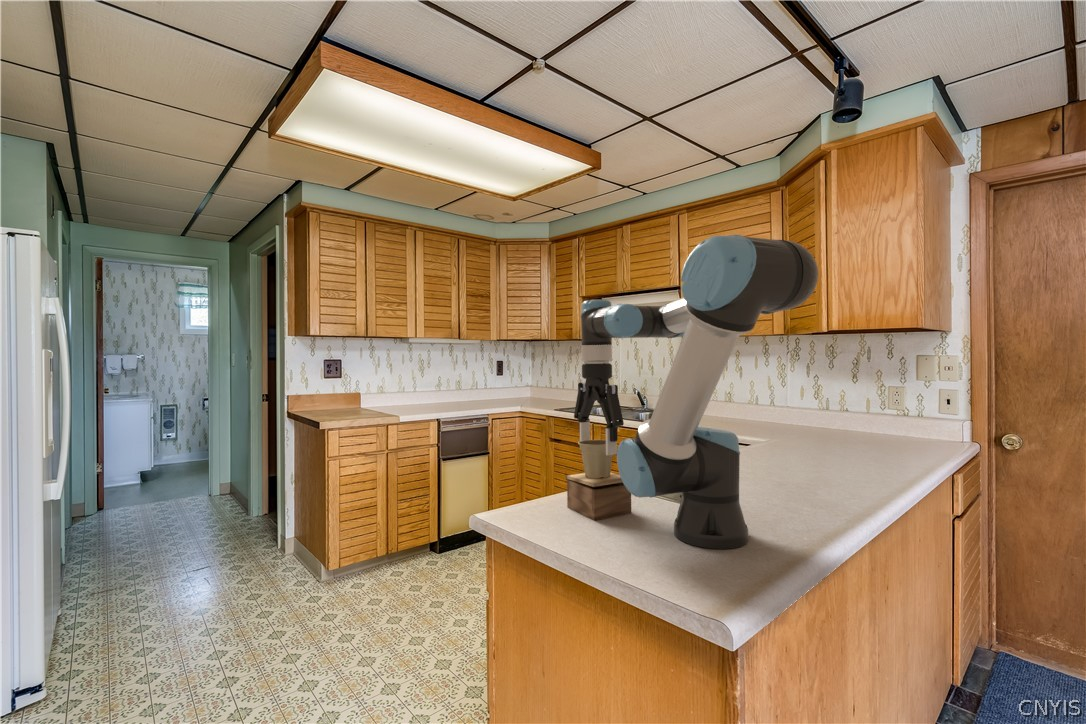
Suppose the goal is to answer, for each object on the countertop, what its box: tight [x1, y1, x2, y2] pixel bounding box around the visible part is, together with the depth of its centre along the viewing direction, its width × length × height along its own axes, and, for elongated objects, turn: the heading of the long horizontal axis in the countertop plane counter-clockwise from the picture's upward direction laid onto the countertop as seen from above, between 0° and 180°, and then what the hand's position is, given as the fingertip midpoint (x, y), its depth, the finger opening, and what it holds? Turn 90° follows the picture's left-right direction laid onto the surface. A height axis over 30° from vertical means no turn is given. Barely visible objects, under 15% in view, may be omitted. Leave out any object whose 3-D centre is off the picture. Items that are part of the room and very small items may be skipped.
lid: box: [565, 472, 623, 487], centre depth 129 cm, size 13×11×1 cm
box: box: [566, 480, 632, 522], centre depth 129 cm, size 12×11×7 cm
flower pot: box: [577, 439, 613, 479], centre depth 129 cm, size 9×9×9 cm
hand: (597, 450), depth 129 cm, fingers open, 11 cm apart
